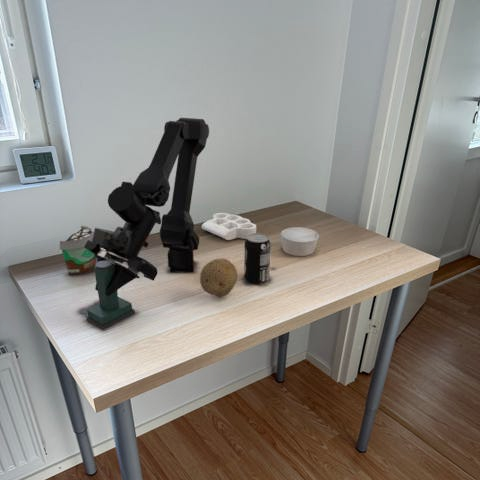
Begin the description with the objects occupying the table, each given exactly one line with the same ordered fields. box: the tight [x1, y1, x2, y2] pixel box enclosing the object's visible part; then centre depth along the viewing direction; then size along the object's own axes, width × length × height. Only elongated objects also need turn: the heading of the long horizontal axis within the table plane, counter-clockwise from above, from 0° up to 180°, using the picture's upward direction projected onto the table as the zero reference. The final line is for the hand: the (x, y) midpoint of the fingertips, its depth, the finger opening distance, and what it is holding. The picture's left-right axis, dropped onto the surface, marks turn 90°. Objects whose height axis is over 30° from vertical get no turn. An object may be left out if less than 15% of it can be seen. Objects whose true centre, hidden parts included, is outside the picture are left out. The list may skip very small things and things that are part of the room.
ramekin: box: [280, 226, 320, 257], centre depth 138 cm, size 11×11×5 cm
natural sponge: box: [199, 257, 238, 298], centre depth 112 cm, size 9×9×10 cm
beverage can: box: [243, 232, 272, 286], centre depth 120 cm, size 7×7×12 cm
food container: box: [59, 225, 97, 276], centre depth 125 cm, size 12×6×10 cm, turn 168°
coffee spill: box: [79, 301, 100, 317], centre depth 110 cm, size 7×6×1 cm
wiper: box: [85, 261, 136, 330], centre depth 103 cm, size 9×6×13 cm, turn 142°
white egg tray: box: [201, 212, 257, 241], centre depth 151 cm, size 3×18×15 cm
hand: (101, 292), depth 102 cm, fingers closed on wiper, 3 cm apart
